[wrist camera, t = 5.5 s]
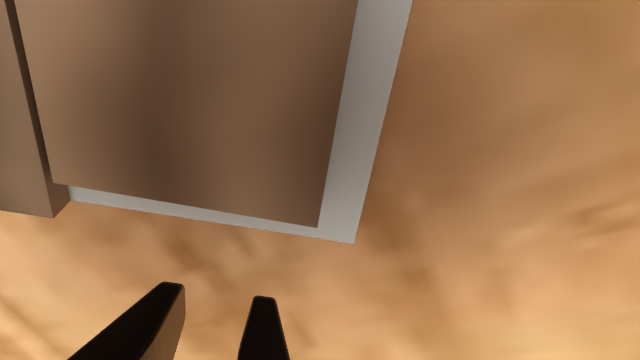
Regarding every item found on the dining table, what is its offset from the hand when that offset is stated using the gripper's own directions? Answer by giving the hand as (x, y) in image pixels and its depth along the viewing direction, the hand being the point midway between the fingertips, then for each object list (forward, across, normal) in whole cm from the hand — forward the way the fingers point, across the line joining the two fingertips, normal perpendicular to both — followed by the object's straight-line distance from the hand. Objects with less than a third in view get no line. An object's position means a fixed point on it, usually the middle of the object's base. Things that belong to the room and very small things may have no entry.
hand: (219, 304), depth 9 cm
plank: (+9, +3, -2) cm, 9 cm away
